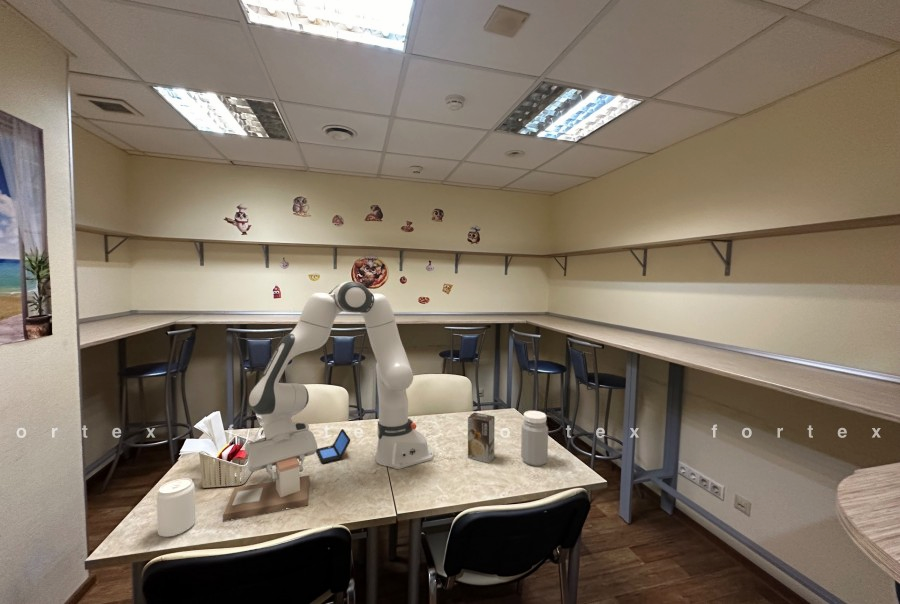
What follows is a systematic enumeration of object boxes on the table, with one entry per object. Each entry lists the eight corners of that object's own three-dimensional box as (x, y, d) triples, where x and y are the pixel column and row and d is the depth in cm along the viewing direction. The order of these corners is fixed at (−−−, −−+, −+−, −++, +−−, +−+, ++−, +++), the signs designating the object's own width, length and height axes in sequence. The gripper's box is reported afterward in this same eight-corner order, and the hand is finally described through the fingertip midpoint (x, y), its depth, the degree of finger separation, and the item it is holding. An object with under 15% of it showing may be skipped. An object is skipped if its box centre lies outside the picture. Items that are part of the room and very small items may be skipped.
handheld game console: (315, 451, 141) (315, 433, 140) (342, 445, 146) (342, 428, 146) (321, 465, 130) (321, 445, 130) (351, 458, 135) (350, 439, 135)
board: (309, 480, 119) (309, 455, 119) (307, 505, 106) (307, 476, 106) (234, 493, 112) (234, 465, 111) (223, 521, 99) (222, 490, 98)
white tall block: (294, 482, 114) (294, 455, 114) (299, 490, 110) (299, 462, 110) (276, 489, 111) (275, 461, 111) (280, 497, 107) (280, 468, 106)
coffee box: (495, 456, 137) (495, 416, 136) (489, 463, 131) (489, 421, 131) (473, 451, 141) (474, 411, 141) (466, 458, 136) (467, 417, 135)
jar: (548, 468, 128) (549, 420, 127) (521, 465, 130) (521, 417, 129) (546, 455, 138) (547, 410, 137) (521, 453, 140) (521, 408, 139)
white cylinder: (151, 541, 91) (149, 496, 90) (167, 521, 99) (165, 479, 98) (187, 535, 93) (186, 491, 92) (200, 516, 101) (199, 475, 100)
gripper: (245, 438, 109) (251, 483, 101) (312, 422, 121) (323, 461, 114) (243, 447, 112) (249, 491, 105) (309, 430, 125) (318, 468, 118)
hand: (288, 475), depth 110 cm, fingers open, 6 cm apart
